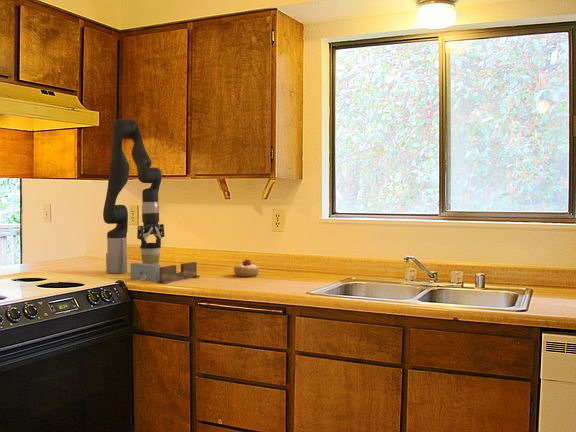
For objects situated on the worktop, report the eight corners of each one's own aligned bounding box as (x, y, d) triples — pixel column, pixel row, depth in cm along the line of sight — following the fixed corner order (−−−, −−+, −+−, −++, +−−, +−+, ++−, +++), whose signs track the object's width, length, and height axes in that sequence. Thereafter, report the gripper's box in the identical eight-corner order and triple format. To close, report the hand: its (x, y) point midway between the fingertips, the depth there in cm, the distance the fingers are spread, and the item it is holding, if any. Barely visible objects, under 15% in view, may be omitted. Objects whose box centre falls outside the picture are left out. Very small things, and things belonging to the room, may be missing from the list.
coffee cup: (165, 274, 298) (164, 243, 297) (146, 276, 291) (146, 244, 290) (154, 272, 305) (154, 242, 304) (136, 274, 299) (136, 243, 298)
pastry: (261, 275, 298) (262, 257, 298) (255, 278, 287) (256, 259, 286) (237, 274, 300) (238, 255, 300) (230, 277, 289) (231, 258, 288)
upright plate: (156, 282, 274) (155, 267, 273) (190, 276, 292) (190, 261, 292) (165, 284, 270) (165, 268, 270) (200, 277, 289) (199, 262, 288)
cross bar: (130, 278, 286) (130, 263, 286) (135, 277, 289) (135, 262, 288) (155, 281, 277) (155, 265, 277) (160, 280, 280) (160, 265, 280)
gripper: (156, 211, 287) (156, 246, 288) (132, 212, 275) (133, 248, 276) (168, 211, 283) (168, 246, 284) (144, 212, 271) (145, 249, 272)
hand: (151, 247), depth 280 cm, fingers open, 8 cm apart
